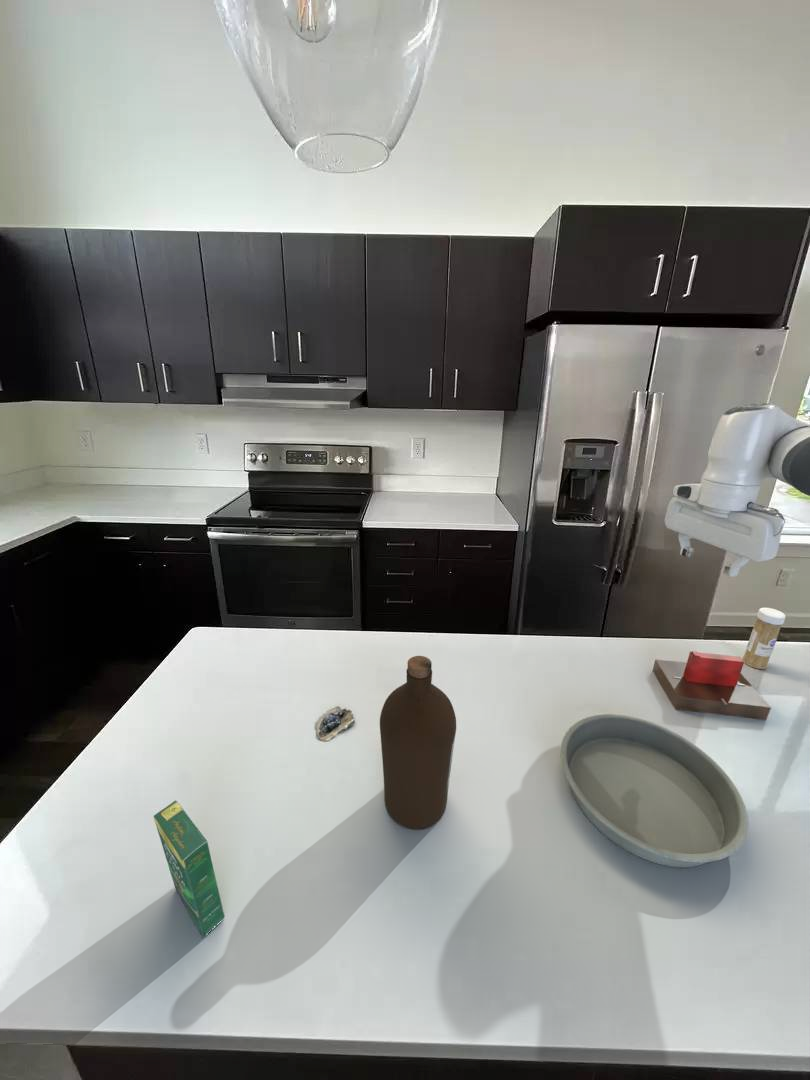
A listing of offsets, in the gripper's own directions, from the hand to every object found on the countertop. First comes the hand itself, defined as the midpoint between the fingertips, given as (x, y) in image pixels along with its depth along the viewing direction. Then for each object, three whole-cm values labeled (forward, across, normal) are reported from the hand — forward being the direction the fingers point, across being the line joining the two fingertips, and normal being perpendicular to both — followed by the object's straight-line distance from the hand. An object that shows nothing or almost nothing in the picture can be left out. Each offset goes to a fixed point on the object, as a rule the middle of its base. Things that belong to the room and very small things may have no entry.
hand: (706, 564), depth 83 cm
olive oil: (+27, -12, +63) cm, 70 cm away
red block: (+23, -6, -1) cm, 24 cm away
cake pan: (+27, -21, +30) cm, 45 cm away
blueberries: (+27, +6, +73) cm, 78 cm away
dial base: (+26, -6, -1) cm, 27 cm away
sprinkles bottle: (+27, -2, -21) cm, 34 cm away
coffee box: (+27, -18, +93) cm, 98 cm away
